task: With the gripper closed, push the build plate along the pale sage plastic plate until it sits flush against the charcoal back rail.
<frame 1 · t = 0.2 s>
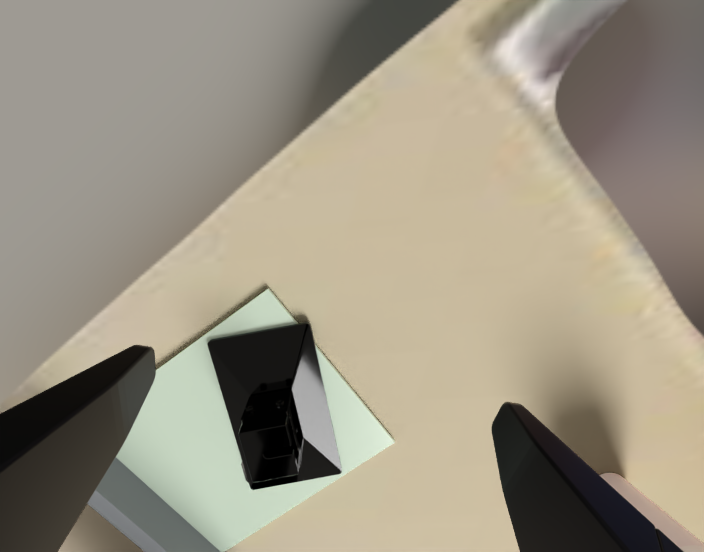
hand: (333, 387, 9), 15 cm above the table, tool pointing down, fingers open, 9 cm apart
smoothie: (603, 489, 30), on the table
base plate: (237, 435, 27), on the table
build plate: (279, 407, 26), touching base plate
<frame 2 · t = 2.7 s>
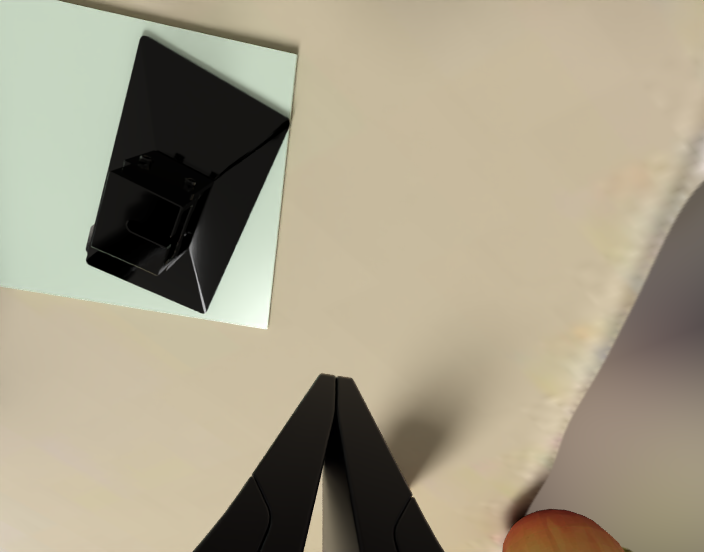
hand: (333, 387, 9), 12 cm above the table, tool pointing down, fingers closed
base plate: (106, 181, 19), on the table
apple: (544, 522, 33), on the table
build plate: (182, 196, 19), touching base plate
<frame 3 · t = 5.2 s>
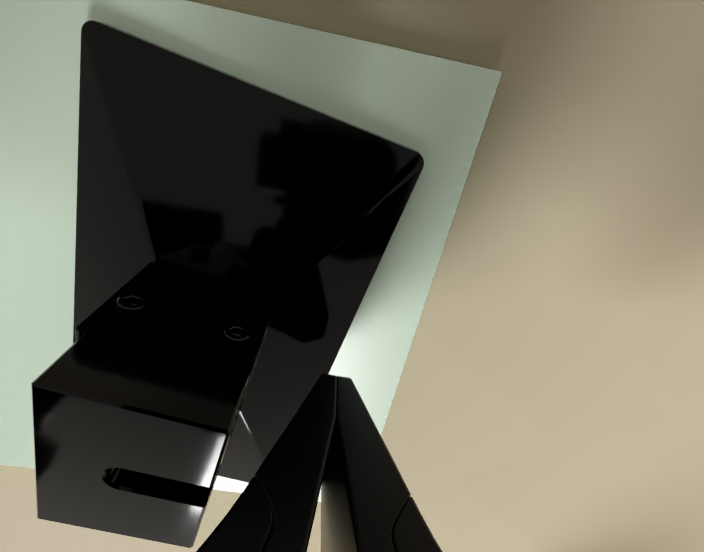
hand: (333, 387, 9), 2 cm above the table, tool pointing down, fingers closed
base plate: (94, 303, 10), on the table
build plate: (216, 319, 10), touching base plate, gripper
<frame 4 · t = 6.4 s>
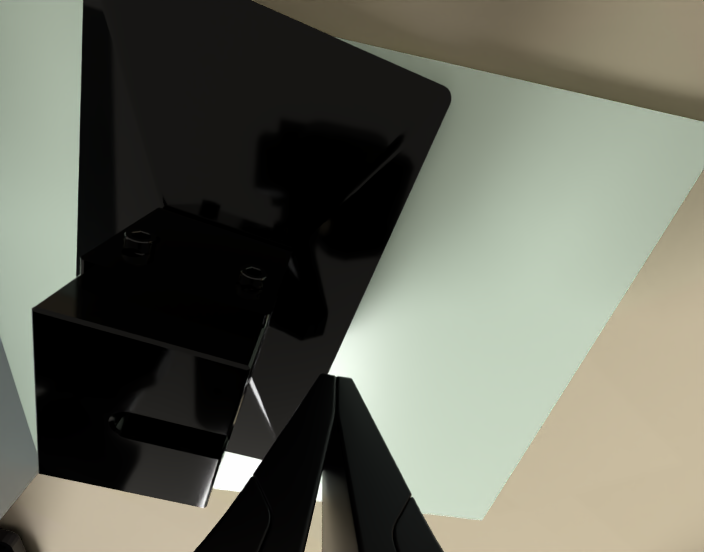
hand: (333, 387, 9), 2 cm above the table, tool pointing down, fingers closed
base plate: (278, 332, 11), on the table
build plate: (226, 280, 10), touching base plate, gripper
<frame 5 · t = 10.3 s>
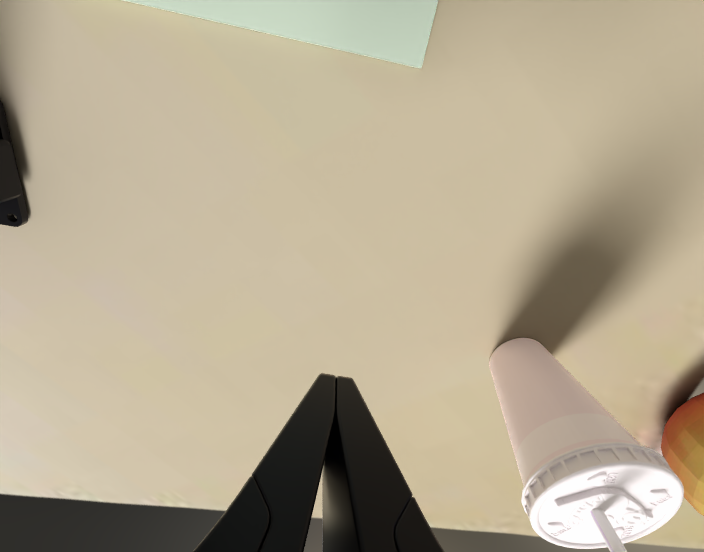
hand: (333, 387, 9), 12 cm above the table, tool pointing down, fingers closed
smoothie: (516, 358, 24), on the table
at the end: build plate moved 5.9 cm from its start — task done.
